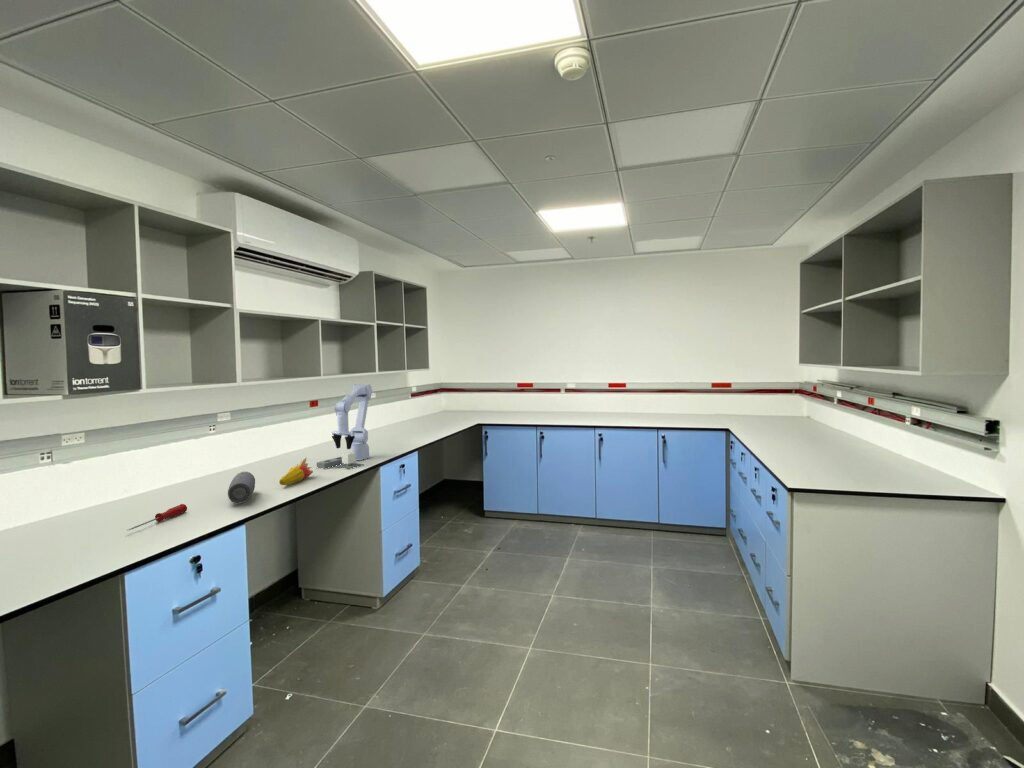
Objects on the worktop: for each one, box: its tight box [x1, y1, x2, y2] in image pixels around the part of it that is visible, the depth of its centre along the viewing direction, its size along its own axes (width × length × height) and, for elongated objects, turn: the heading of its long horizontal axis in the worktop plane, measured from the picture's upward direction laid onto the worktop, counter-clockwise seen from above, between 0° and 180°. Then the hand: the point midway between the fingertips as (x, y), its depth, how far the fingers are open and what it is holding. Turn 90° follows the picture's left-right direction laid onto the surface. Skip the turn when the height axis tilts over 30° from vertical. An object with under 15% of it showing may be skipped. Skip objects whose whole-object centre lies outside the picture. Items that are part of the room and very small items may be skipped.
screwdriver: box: [126, 503, 188, 531], centre depth 177 cm, size 4×25×4 cm, turn 174°
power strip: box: [316, 455, 344, 469], centre depth 272 cm, size 18×6×4 cm, turn 154°
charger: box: [341, 451, 356, 466], centre depth 268 cm, size 5×4×6 cm
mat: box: [332, 462, 364, 470], centre depth 268 cm, size 11×11×1 cm
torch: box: [278, 457, 314, 486], centre depth 235 cm, size 8×8×25 cm
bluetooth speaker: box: [227, 471, 256, 504], centre depth 206 cm, size 23×9×10 cm, turn 24°
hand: (343, 448), depth 270 cm, fingers open, 7 cm apart
